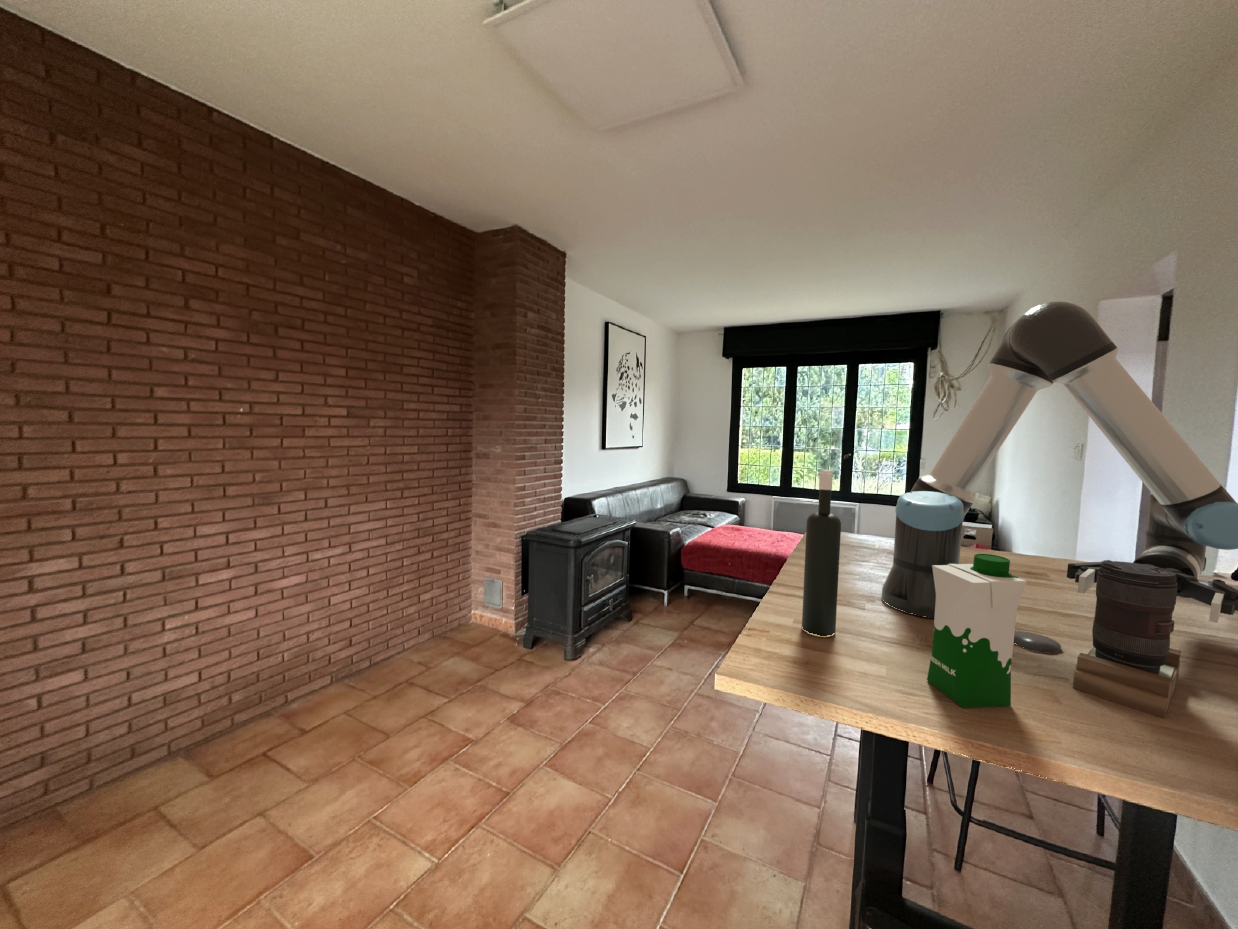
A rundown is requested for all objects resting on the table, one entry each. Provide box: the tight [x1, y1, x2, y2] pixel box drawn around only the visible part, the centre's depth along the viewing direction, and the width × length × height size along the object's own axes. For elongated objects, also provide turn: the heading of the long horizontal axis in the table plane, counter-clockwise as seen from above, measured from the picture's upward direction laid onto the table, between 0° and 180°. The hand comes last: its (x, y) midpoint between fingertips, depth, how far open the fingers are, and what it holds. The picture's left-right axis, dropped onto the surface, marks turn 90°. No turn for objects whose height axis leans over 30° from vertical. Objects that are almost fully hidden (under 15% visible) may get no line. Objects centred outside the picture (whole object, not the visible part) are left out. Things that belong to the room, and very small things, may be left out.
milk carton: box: [926, 553, 1027, 709], centre depth 69 cm, size 9×9×20 cm
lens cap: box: [1013, 630, 1062, 654], centre depth 85 cm, size 7×7×1 cm
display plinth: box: [1072, 645, 1182, 719], centre depth 72 cm, size 17×9×4 cm, turn 127°
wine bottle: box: [801, 469, 842, 636], centre depth 88 cm, size 6×6×30 cm
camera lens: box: [1091, 560, 1178, 675], centre depth 72 cm, size 8×8×15 cm
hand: (1142, 597), depth 72 cm, fingers open, 13 cm apart
